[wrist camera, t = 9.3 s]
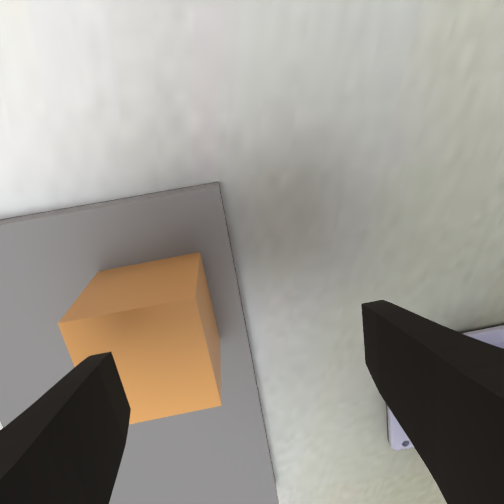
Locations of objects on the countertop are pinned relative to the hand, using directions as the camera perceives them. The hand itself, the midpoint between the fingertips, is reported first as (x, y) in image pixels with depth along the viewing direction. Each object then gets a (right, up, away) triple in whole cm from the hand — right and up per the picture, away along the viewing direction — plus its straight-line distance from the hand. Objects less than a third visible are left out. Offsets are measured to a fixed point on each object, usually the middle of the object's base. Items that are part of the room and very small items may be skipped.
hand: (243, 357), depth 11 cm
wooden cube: (-4, 0, +8) cm, 9 cm away
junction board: (-7, -5, +11) cm, 14 cm away
